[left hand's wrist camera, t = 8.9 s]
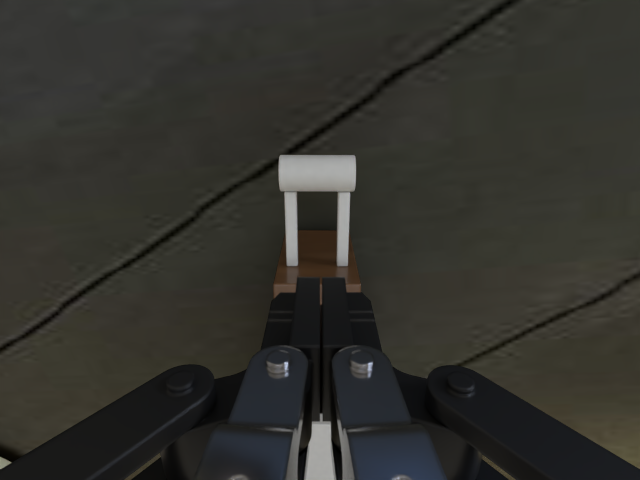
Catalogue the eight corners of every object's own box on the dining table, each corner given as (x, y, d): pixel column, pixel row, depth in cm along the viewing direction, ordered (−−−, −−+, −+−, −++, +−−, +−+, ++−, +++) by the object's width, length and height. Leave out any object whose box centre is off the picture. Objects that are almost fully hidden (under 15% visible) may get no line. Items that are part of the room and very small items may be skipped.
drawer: (282, 140, 25) (267, 163, 17) (352, 141, 25) (366, 163, 17) (290, 410, 32) (282, 506, 25) (343, 410, 32) (351, 506, 25)
